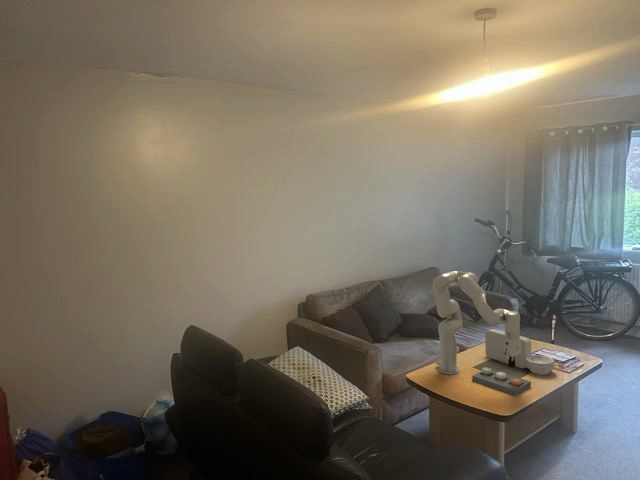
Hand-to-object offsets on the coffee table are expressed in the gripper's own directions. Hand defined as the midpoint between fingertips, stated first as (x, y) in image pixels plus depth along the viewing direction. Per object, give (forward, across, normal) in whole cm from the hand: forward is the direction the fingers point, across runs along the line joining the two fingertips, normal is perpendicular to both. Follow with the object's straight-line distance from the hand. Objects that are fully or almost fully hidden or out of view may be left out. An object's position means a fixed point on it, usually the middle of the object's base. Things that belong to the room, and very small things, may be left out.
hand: (511, 366), depth 250 cm
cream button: (+8, 0, +6) cm, 11 cm away
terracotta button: (+9, 0, -3) cm, 10 cm away
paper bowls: (+12, +31, 0) cm, 33 cm away
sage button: (+9, 0, +15) cm, 18 cm away
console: (+12, 0, +6) cm, 13 cm away
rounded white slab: (+12, +32, +22) cm, 40 cm away
